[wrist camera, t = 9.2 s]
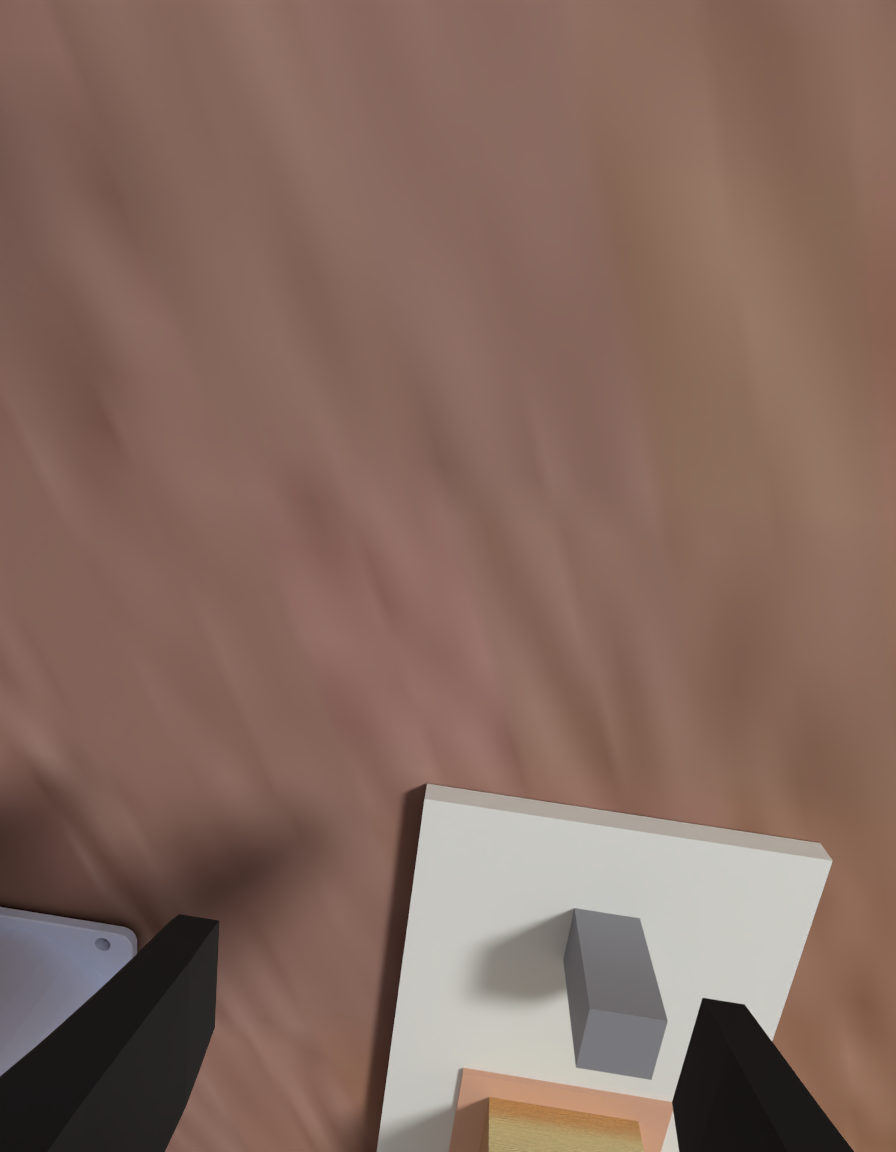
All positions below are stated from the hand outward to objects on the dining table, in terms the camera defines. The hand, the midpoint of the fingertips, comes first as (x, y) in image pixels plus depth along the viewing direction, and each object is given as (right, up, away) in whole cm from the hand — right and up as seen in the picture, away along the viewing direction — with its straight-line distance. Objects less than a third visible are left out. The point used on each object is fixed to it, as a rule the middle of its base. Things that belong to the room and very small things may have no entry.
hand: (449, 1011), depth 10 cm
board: (+4, -9, +13) cm, 17 cm away
